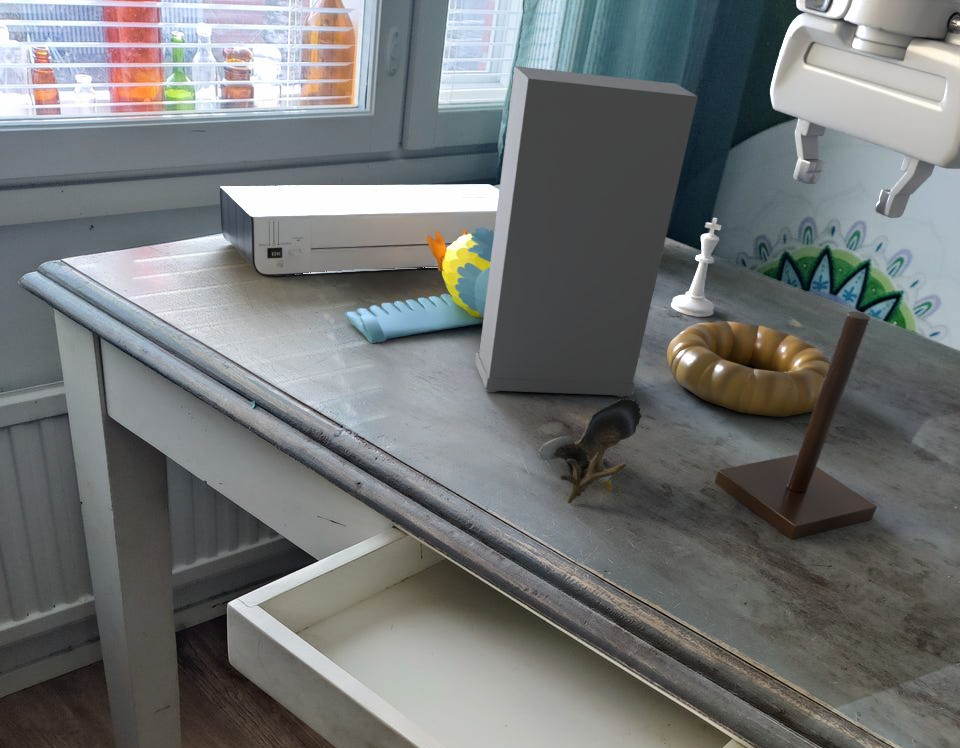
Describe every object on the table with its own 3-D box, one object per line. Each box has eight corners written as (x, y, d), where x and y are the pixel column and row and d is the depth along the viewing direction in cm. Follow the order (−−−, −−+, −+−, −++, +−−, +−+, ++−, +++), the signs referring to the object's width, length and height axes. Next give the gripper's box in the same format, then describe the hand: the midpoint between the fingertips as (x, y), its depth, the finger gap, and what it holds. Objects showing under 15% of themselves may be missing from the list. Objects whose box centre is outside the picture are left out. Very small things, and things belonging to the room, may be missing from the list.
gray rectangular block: (613, 371, 96) (674, 82, 81) (631, 398, 91) (700, 97, 76) (474, 365, 93) (510, 63, 78) (485, 393, 88) (526, 78, 73)
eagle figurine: (646, 507, 73) (659, 437, 79) (609, 431, 69) (625, 362, 75) (554, 531, 77) (573, 462, 83) (514, 460, 73) (536, 392, 79)
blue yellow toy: (560, 205, 108) (648, 252, 99) (547, 283, 114) (629, 335, 105) (329, 216, 95) (406, 273, 86) (326, 305, 100) (398, 367, 91)
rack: (793, 466, 84) (855, 288, 75) (872, 519, 78) (950, 333, 69) (713, 482, 80) (769, 296, 71) (791, 539, 74) (863, 345, 65)
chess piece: (709, 320, 111) (734, 228, 105) (667, 310, 112) (689, 218, 106) (716, 307, 115) (740, 218, 109) (675, 297, 116) (697, 208, 110)
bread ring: (749, 347, 106) (760, 310, 103) (860, 411, 95) (875, 372, 93) (632, 361, 99) (640, 322, 96) (738, 433, 88) (751, 391, 86)
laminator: (483, 234, 126) (489, 183, 123) (531, 267, 118) (539, 213, 115) (221, 243, 112) (219, 185, 108) (256, 281, 104) (254, 220, 100)
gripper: (1054, 31, 69) (970, 236, 77) (840, -15, 82) (788, 164, 90) (998, 25, 66) (917, 239, 74) (785, -21, 79) (737, 165, 87)
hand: (844, 198), depth 82 cm, fingers open, 8 cm apart
